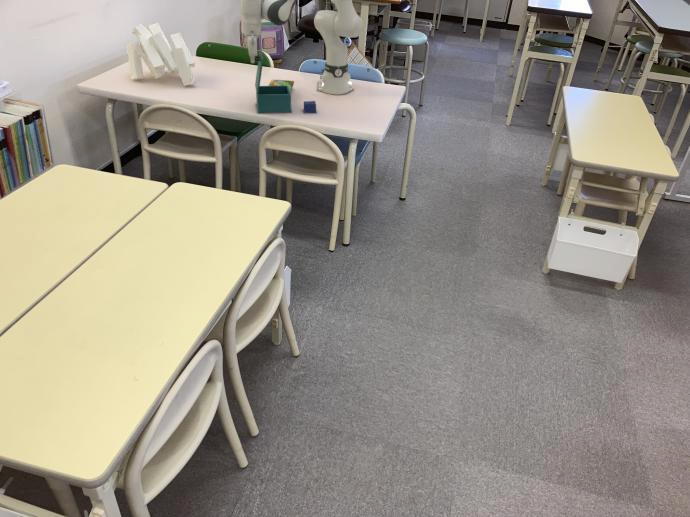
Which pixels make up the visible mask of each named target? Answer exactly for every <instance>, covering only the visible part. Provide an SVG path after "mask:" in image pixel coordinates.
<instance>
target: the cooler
mask: <svg viewBox="0 0 690 517" xmlns="http://www.w3.org/2000/svg"><path fill="white" fill-rule="evenodd" d="M255 96H256V97H255V98H256V107H257V113H258V114H280V113H282V114H283V113H284V114H285V113H292V94H291V92H290V90H289V87H288V86H269V85H260V87H259V94H257V93H256V92H255Z"/></svg>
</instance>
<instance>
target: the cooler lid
mask: <svg viewBox="0 0 690 517" xmlns="http://www.w3.org/2000/svg"><path fill="white" fill-rule="evenodd" d="M256 61H257V68H256V75H255V82H254V86H255V94H256V93H257V94H259V87H260V86H261V78H262V72H263V71H262V70H263V64H264V55H263V51H262V50H259V52H258V55H257V56H255V62H256Z"/></svg>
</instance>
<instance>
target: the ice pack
mask: <svg viewBox="0 0 690 517" xmlns="http://www.w3.org/2000/svg"><path fill="white" fill-rule="evenodd" d="M302 110H303V113H304V114H315V113H316V114H317V102H316V101H315V100H305V101H303V108H302Z"/></svg>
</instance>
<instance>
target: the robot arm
mask: <svg viewBox="0 0 690 517" xmlns="http://www.w3.org/2000/svg"><path fill="white" fill-rule="evenodd" d="M297 2H298V0H240V13H241V19H240V24H241V25H240V26H241V27H240V28H241V34H242V35H243V36H244V38H245V41H246V46H247V52H248V56H249V59H250V64H255V62H256V60H255V56H258V39H259V37H260V35H262V20H265V21H268V22H270V23H272V24H273V25H275V26H279V27H281V26H284V25H286V24H287V23H288V22H289V20H290V18H291V16H292V12H293V9H294V7H295V5H296V3H297ZM330 2H331V3H332V4H334V6H335V7H336V9H337V10H331V9H323V10H322V9H321V10H318V11H317V12H316V13H315V15H314V19H313V24H314V27H315V29H316V30H317V32H318V33H319V34H320V36H321V38H322V39H323V42H324V46H325V57H324V58H323V60H325V63H324V67H325V69H324V70H323V69H322V74H320V75H319V80H318V84H317V85H318V87H317V91H318V92H321V93H322V92H323V93H325V94H329V95H345V94H347V93H349V92H351V91H354V88H353V87H352V86H351V85H352V82H351V74H350V73H349V72H348V71H349V63H348V56H349V49H348V47H347V45H346V44H345V43H344V42H343V41H342V39H341V37H343V38H348V39H350V38H351V39H352V38H358V37H359V36H360V35H361V34H362V32H363V30H364V22H363V20H362V17H360V15H359V14H358V13H357V11H356V8H355V7H354V4H353V0H330Z"/></svg>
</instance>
